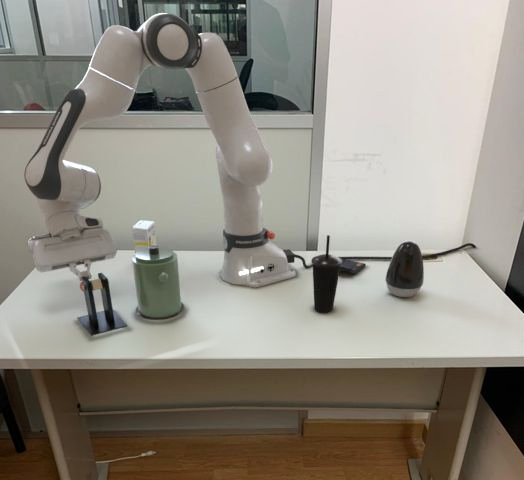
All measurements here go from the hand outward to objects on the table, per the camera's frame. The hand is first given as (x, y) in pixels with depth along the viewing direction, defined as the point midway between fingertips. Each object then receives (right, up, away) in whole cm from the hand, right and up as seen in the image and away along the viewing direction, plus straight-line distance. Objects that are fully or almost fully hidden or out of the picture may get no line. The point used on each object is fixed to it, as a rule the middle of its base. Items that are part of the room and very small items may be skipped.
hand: (85, 279), depth 133 cm
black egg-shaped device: (+84, -2, +15) cm, 85 cm away
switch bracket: (+5, -12, -1) cm, 13 cm away
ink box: (+8, +11, +37) cm, 39 cm away
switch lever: (+3, -3, -2) cm, 5 cm away
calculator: (+69, +8, +29) cm, 76 cm away
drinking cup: (+61, -7, +7) cm, 61 cm away
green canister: (+18, -8, +5) cm, 20 cm away
